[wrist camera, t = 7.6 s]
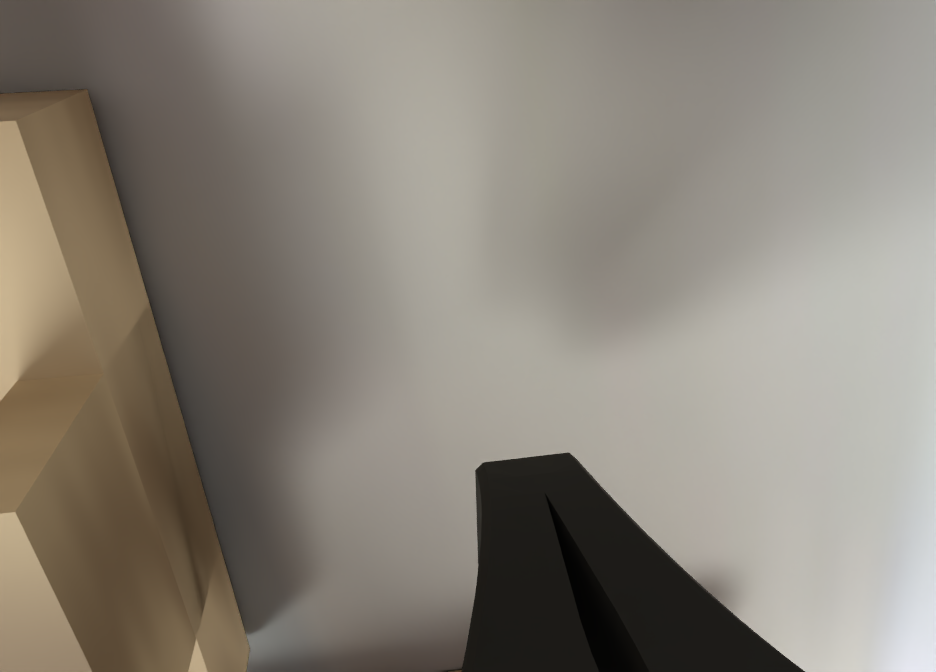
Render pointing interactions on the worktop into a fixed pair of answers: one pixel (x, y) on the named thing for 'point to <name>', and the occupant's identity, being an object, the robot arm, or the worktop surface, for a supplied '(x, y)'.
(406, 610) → the worktop surface
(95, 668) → the beige wooden block
